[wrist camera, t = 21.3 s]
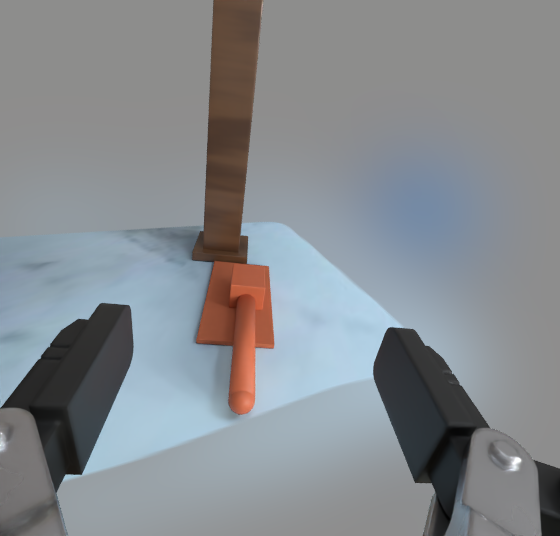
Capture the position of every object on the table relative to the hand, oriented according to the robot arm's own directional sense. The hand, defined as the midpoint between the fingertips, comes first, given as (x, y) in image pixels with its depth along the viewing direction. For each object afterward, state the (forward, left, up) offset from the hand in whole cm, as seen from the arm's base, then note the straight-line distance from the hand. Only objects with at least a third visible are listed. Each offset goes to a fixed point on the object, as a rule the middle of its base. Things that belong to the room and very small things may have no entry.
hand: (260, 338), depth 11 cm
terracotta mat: (+13, +13, -11) cm, 22 cm away
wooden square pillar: (+18, +22, -11) cm, 31 cm away
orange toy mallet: (+9, +9, -11) cm, 17 cm away
